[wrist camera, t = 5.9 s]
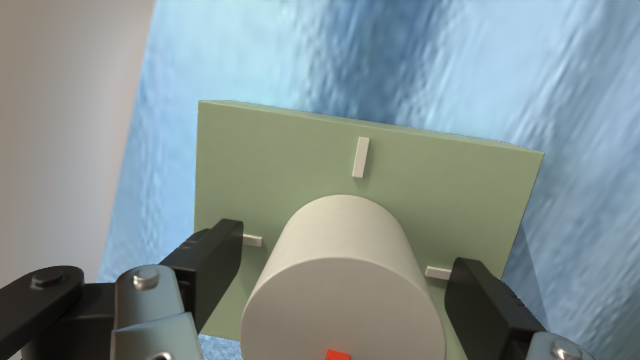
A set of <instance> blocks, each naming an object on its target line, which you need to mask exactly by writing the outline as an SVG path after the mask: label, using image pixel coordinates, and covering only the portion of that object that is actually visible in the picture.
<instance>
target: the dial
mask: <svg viewBox="0 0 640 360" xmlns="http://www.w3.org/2000/svg"><path fill="white" fill-rule="evenodd" d="M239 337H240V348H241V352H242V357H243V359H244V360H445V357H446V335H445V329H444V325H443V322H442V320H441V317H440V314H439V312H438V310H437V307H436V305H435V302H434V300H433V298H432V295H431V293H430V291H429V288H428V286H427V284H426V281H425V279H424V277H423V274H422V272H421V270H420V267H419V265H418V263H417V260H416V258H415V256H414V253H413V251H412V249H411V246H410V244H409V241H408V239H407V237H406V234H405V232H404V230H403V229H402V227H401V225H400V224H399V222H398V221H397V220H396V218H395V217H394V216H393V215H392V214H391V213H390V212H388V211H387V210H386V209H385V208H383V207H382V206H380V205H379V204H377V203H375V202H373V201H371V200H368V199H365V198H362V197H359V196H353V195H331V196H326V197H322V198H319V199H316V200H314V201H312V202H310V203H308V204H306V205H305V206H303V207H302V208H300V209H299V210H298V211H297V212H296V213H295V214H294V215H293V216H292V217H291V218H290V220H289V221H288V223H287V224H286V226H285V227H284V229H283V231H282V233H281V235H280V237H279V239H278V241H277V243H276V245H275V247H274V249H273V251H272V253H271V255H270V257H269V259H268V261H267V263H266V265H265V267H264V269H263V271H262V273H261V275H260V277H259V279H258V281H257V283H256V285H255V287H254V289H253V291H252V293H251V295H250V297H249V299H248V301H247V304H246V306H245V308H244V311H243V314H242V318H241V321H240V331H239Z"/></svg>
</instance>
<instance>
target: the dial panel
mask: <svg viewBox="0 0 640 360" xmlns="http://www.w3.org/2000/svg"><path fill="white" fill-rule="evenodd" d="M544 155H545V154H544V153H543V152H539V151H535V150H531V149H528V148H524V147H520V146H517V145H513V144H509V143H505V142H502V141H496V140H489V139H482V138H476V137H469V136H463V135H456V134H449V133H443V132H436V131H430V130H423V129H416V128H410V127H403V126H397V125H390V124H383V123H377V122H370V121H364V120H357V119H350V118H344V117H337V116H331V115H324V114H317V113H311V112H304V111H297V110H291V109H284V108H278V107H271V106H264V105H258V104H251V103H245V102H238V101H231V100H199V101H198V114H197V145H196V176H195V207H194V233H196V232H198V231H201V230H203V229H205V228H208V229H211V228H212V227H213V226H215V225H216V224H217V223H218V222H219V221H220V220H221V219H222V218H226V219H232V220H238V221H243V224H244V230H243V244H242V258H241V264H240V268H239V271H238V273H237V275H236V277H235V278H234V280H233V281H232V283H231V285H230V286H229V288H228V289H227V291H226V292H225V294H224V295H223V297H222V299H221V300H220V302H219V303H218V305H217V306H216V308H215V310H214V311H213V313H212V314H211V316H210V317H209V319H208V320H207V322H206V324H205V325H204V327H203V328H202V330H201V331H200V333H199V334H204V335H210V336H215V337H220V338H225V339H230V340H235V341H240V337H239V331H240V321H241V318H242V314H243V311H244V308H245V306H246V304H247V301H248V299H249V297H250V295H251V293H252V291H253V289H254V287H255V285H256V283H257V281H258V279H259V277H260V275H261V273H262V271H263V269H264V267H265V265H266V263H267V261H268V259H269V257H270V255H271V253H272V251H273V249H274V247H275V245H276V243H277V241H278V239H279V237H280V235H281V233H282V231H283V229H284V227H285V226H286V224H287V223H288V221H289V220H290V218H291V217H292V216H293V215H294V214H295V213H296V212H297V211H298V210H299V209H300V208H302V207H303V206H305V205H306V204H308V203H310V202H312V201H314V200H316V199H319V198H322V197H326V196H331V195H353V196H359V197H362V198H365V199H368V200H371V201H373V202H375V203H377V204H379V205H380V206H382V207H383V208H385V209H386V210H387V211H388V212H390V213H391V214H392V215H393V216H394V217H395V218H396V220H397V221H398V222H399V224H400V225H401V227H402V229H403V230H404V232H405V234H406V237H407V239H408V241H409V244H410V246H411V249H412V251H413V253H414V256H415V258H416V260H417V263H418V265H419V267H420V270H421V272H422V274H423V277H424V279H425V281H426V284H427V286H428V288H429V291H430V293H431V295H432V298H433V300H434V302H435V305H436V307H437V310H438V312H439V314H440V317H441V320H442V322H443V325H444V329H445V335H446V357H445V360H468V359H467V357H466V354H465V352H464V350H463V348H462V346H461V344H460V341H459V339H458V337H457V335H456V333H455V331H454V328H453V326H452V324H451V322H450V320H449V318H448V315H447V313H446V311H445V306H444V296H445V291H446V288H447V284H448V281H449V277H450V274H451V270H452V267H453V264H454V261H455V259H456V258H457V257H462V258H468V259H474V260H480V261H481V262H482V263H483V264H484V265H485V266H486V268H487V269H488V270H489V271H490V273H491V274H492V275H493V276H495V277H496V278H498V279H499V280H500V281H501V278H502V275H503V272H504V269H505V266H506V264H507V261H508V258H509V255H510V252H511V249H512V246H513V244H514V241H515V238H516V235H517V232H518V229H519V226H520V224H521V221H522V218H523V215H524V212H525V209H526V206H527V204H528V201H529V198H530V195H531V192H532V189H533V186H534V184H535V181H536V178H537V175H538V172H539V169H540V166H541V163H542V161H543V158H544Z"/></svg>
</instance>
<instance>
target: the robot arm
mask: <svg viewBox="0 0 640 360" xmlns="http://www.w3.org/2000/svg"><path fill="white" fill-rule="evenodd" d="M243 230H244V224H243V221H238V220H232V219H226V218H222V219H221V220H220V221H219V222H218V223H217V224H216V225H215V226H213V227H212V228H211V229H208V228H205V229H203V230H201V231H198V232H196V233H194V234H193V235H191V236H190V237H189V238H188V239H187V240H186V242H185V241H184V242H183V243H182V244H181V245H180V246H179V248H178V247H177V248H176V249H175V250H174V251H173V252H172V253H171V254H169V255H168V256H167V257H166V258H165V259H164V260H162V261H161V262H160V263H159V264H158V265H156V264H152V265H143V266H139V267H135V268H133V269H130V270H128V271H126V272H125V273H123V274H122V275H121V276H119V278H118V279H117V280H116V282H115V283H90V284H85V282H84V273H83V271H82V270H81V269H79V268H78V267H74V266H53V267H48V268H43V269H40V270H36V271H34V272H31V273H28V274H26V275H24V276H22V277H21V278H19V279H17V280H15V281H13V282H12V283H10V284H8V285H7V286H5V287H3V288H1V289H0V360H7V359H9V358H10V357H11V356H13V355H14V354H15V353H16V352H17V351H19V350H20V349H21V355H22V359H21V360H204V356H203V353H202V349H201V346H200V342H199V339H198V335H199V333H200V331H201V330H202V328H203V327H204V325H205V324H206V322H207V320H208V319H209V317H210V316H211V314H212V313H213V311H214V310H215V308H216V306H217V305H218V303H219V302H220V300H221V299H222V297H223V295H224V294H225V292H226V291H227V289H228V288H229V286H230V285H231V283H232V281H233V280H234V278H235V277H236V275H237V273H238V271H239V268H240V264H241V258H242V244H243ZM444 306H445V311H446V313H447V315H448V318H449V320H450V322H451V324H452V326H453V328H454V331H455V333H456V335H457V337H458V339H459V341H460V344H461V346H462V348H463V350H464V352H465V354H466V357H467V359H468V360H596V359H595V358H594V357H593V356H592V355H591V354H590V353H589V352H587V351H586V350H585V349H583V348H582V347H580V346H579V345H577V344H576V343H574V342H572V341H570V340H569V339H567V338H564V337H562V336H559V335H557V334H553V333H550V332H547V331H546V329H545V328H544V327H543V326H542V325H541V324H540V322H539V321H538V320H537V319H536V318H535V317H534V315H533V314H532V313H531V312H530V311H529V310H528V308H527V307H525V305H524V304H523V303H522V301H521V300H520V299H518V298H517V296H516V295H515V293H514V292H513V291H512V290H511V289H510V288H509V286H507V285H506V284H505V283H503V282H502V281H500V280H499V279H498V278H496V277H495V276H493V275H492V274H491V273H490V271H489V270H488V269H487V268H486V266H485V265H484V264H483V263H482V262H481V261H480V260H474V259H468V258H462V257H457V258H456V259H455V261H454V264H453V267H452V270H451V274H450V277H449V281H448V284H447V288H446V291H445V296H444Z"/></svg>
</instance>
